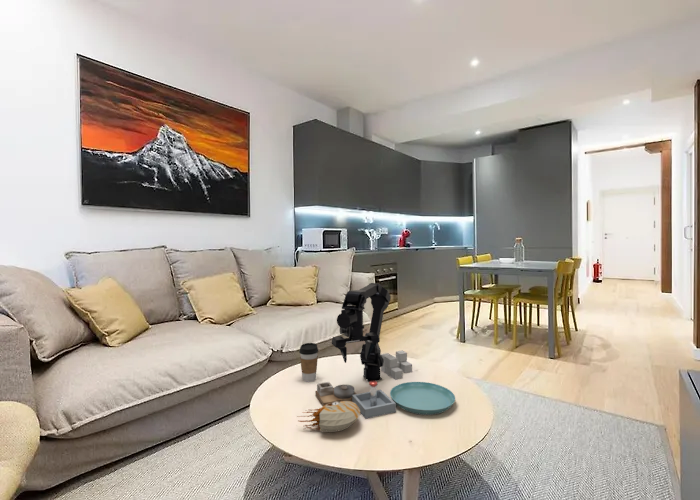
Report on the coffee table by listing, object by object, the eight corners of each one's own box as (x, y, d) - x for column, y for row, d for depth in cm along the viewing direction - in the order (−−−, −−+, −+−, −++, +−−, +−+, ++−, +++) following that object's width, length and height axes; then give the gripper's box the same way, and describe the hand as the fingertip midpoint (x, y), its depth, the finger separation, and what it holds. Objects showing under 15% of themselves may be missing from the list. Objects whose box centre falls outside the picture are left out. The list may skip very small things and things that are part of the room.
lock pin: (375, 403, 135) (375, 380, 134) (378, 406, 132) (378, 383, 131) (367, 404, 133) (367, 381, 133) (371, 408, 131) (371, 384, 130)
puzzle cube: (395, 380, 157) (395, 362, 157) (380, 370, 168) (380, 354, 167) (417, 375, 162) (417, 358, 162) (402, 366, 173) (402, 350, 173)
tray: (380, 397, 140) (380, 389, 140) (395, 412, 129) (395, 403, 129) (352, 403, 136) (352, 394, 136) (365, 418, 125) (365, 409, 125)
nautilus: (293, 441, 113) (300, 418, 128) (362, 436, 113) (360, 414, 128) (292, 416, 113) (298, 396, 128) (360, 411, 113) (359, 392, 128)
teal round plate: (466, 401, 138) (466, 392, 138) (434, 427, 120) (434, 417, 120) (412, 383, 154) (412, 376, 154) (377, 404, 136) (377, 395, 136)
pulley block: (348, 389, 148) (348, 377, 148) (358, 401, 138) (358, 388, 137) (315, 395, 143) (315, 383, 142) (323, 408, 132) (323, 395, 132)
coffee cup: (320, 375, 162) (320, 342, 162) (316, 383, 154) (316, 349, 153) (302, 375, 163) (301, 342, 162) (297, 382, 155) (297, 348, 154)
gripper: (368, 315, 155) (368, 351, 155) (327, 320, 148) (327, 357, 149) (380, 321, 144) (380, 360, 145) (336, 326, 137) (336, 366, 138)
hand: (356, 360), depth 145 cm, fingers open, 9 cm apart
